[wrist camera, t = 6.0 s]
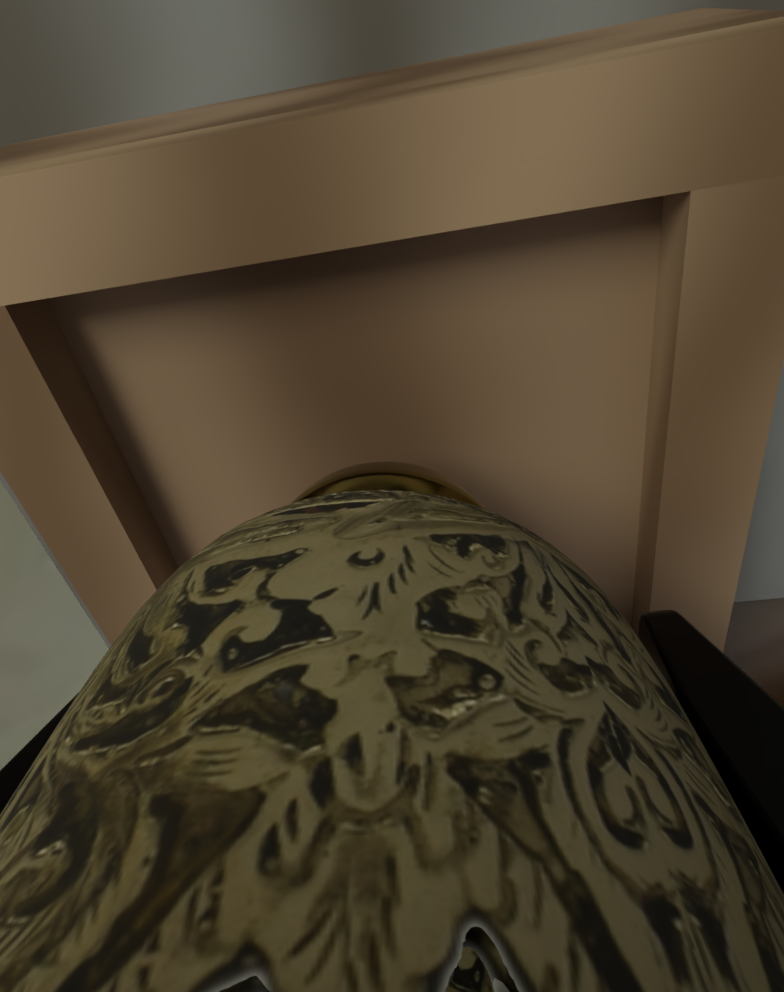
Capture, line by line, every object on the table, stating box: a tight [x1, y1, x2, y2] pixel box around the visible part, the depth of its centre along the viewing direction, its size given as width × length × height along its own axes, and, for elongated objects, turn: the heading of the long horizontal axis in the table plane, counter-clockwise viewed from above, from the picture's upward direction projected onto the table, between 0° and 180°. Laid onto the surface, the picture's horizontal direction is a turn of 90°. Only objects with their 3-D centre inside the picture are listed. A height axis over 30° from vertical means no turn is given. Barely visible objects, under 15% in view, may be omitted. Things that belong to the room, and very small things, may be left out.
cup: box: [0, 461, 784, 992], centre depth 8 cm, size 8×7×8 cm
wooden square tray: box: [0, 0, 784, 652], centre depth 14 cm, size 20×16×6 cm
